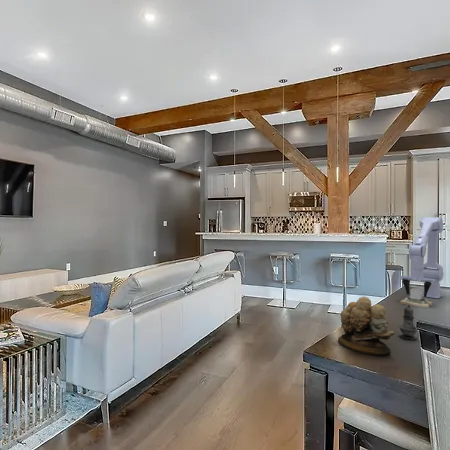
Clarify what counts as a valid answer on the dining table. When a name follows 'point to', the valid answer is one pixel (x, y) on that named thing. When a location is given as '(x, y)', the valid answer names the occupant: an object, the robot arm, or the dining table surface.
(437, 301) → the dining table surface
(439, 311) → the dining table surface
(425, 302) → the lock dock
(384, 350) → the owl figurine
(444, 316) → the dining table surface
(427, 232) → the robot arm
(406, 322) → the grey chess piece
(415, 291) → the block
